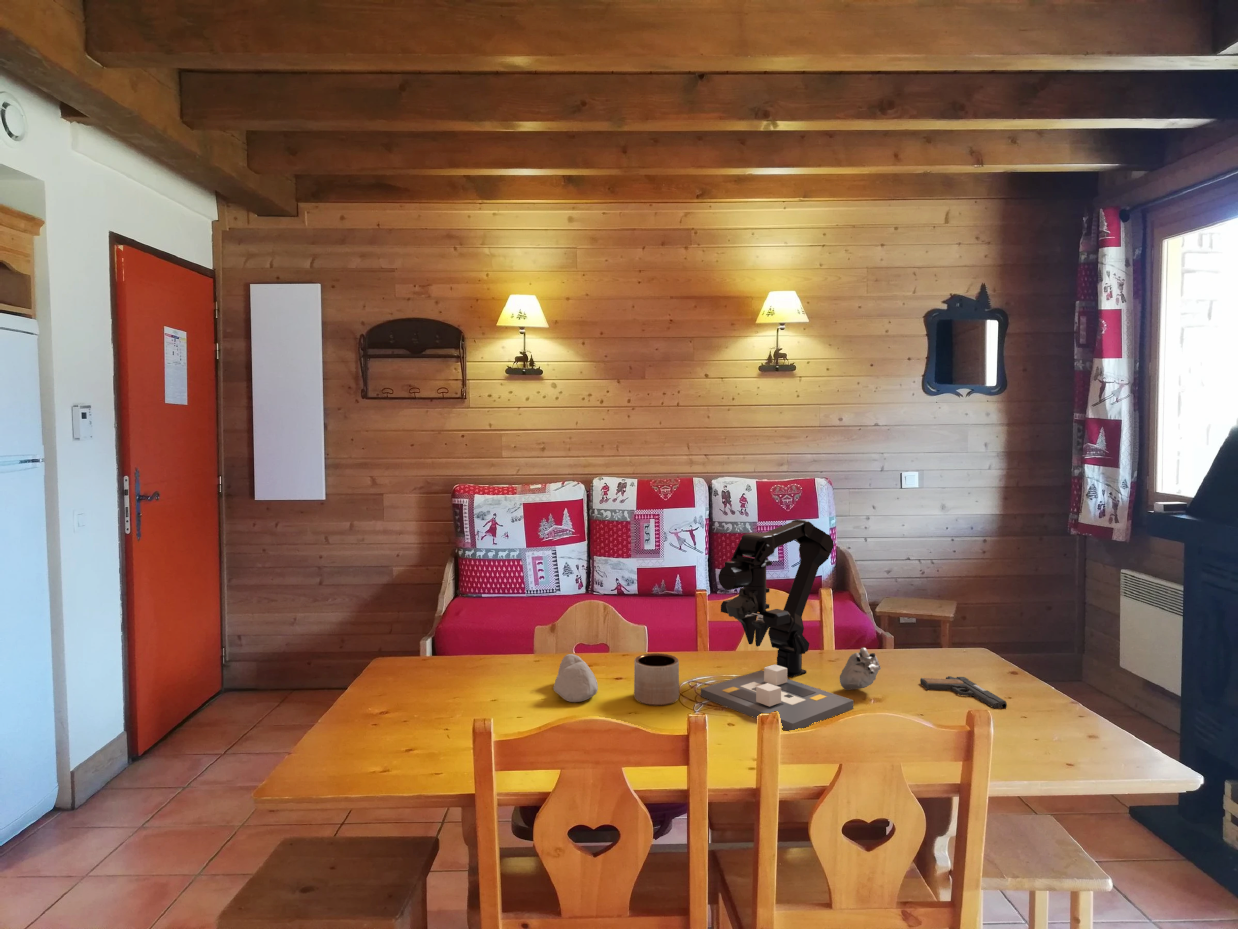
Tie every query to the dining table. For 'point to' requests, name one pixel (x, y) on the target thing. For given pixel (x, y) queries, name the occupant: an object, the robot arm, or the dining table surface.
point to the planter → (656, 679)
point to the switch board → (796, 700)
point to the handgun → (964, 689)
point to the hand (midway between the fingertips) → (754, 645)
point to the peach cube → (775, 674)
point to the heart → (859, 670)
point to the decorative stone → (575, 680)
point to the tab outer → (768, 694)
